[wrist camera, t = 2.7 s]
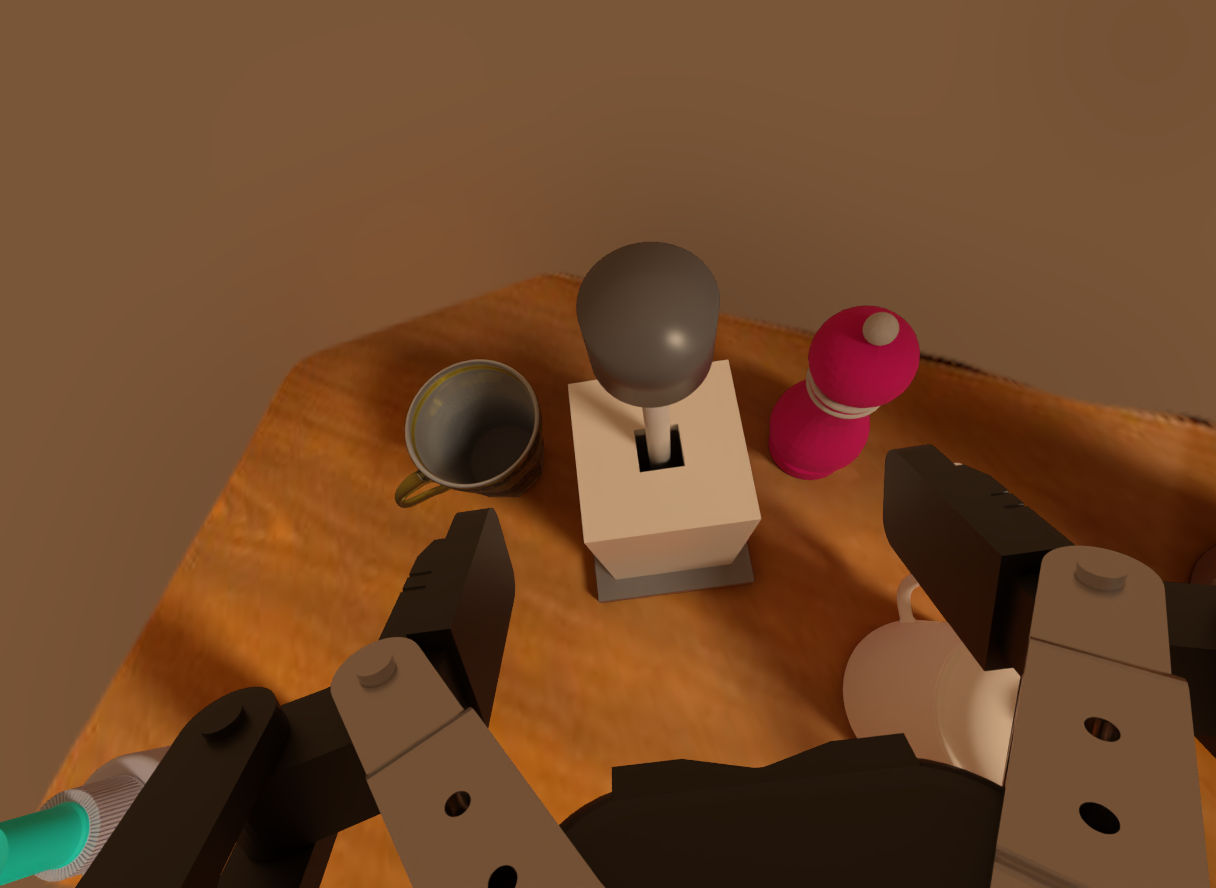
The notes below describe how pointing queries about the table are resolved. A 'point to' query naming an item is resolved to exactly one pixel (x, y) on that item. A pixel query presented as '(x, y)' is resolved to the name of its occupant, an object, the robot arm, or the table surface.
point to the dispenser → (665, 492)
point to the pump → (650, 331)
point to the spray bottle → (74, 821)
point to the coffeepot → (930, 693)
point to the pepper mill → (842, 390)
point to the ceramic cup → (473, 433)
